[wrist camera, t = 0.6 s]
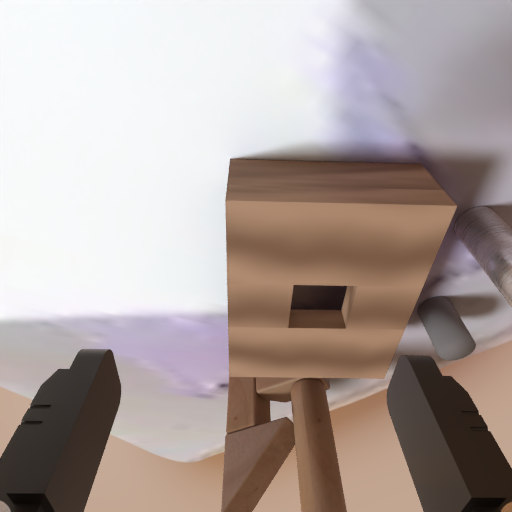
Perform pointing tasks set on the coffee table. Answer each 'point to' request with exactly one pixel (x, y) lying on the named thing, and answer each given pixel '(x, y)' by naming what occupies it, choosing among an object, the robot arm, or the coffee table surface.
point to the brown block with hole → (327, 262)
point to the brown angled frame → (280, 443)
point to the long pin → (488, 245)
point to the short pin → (445, 328)
